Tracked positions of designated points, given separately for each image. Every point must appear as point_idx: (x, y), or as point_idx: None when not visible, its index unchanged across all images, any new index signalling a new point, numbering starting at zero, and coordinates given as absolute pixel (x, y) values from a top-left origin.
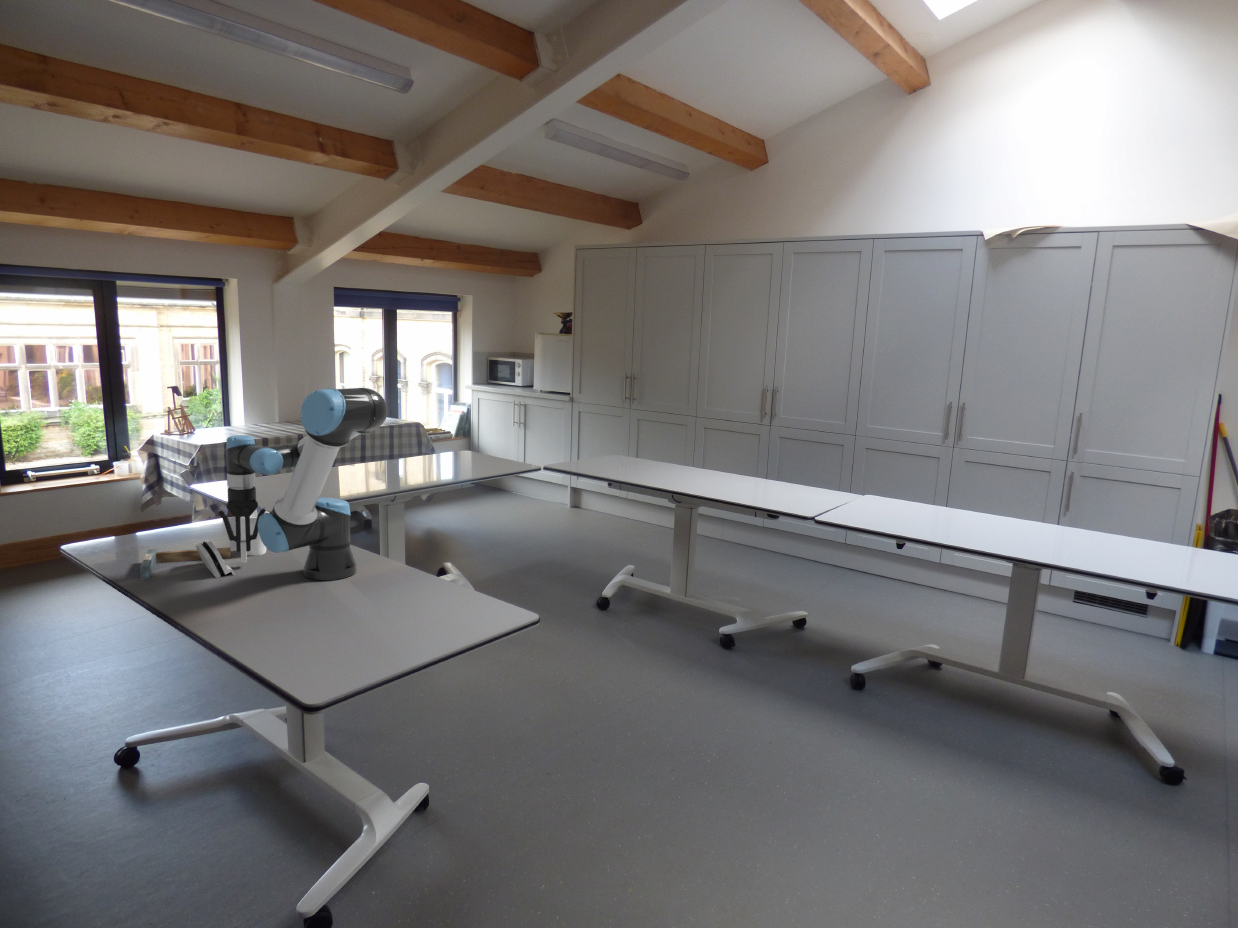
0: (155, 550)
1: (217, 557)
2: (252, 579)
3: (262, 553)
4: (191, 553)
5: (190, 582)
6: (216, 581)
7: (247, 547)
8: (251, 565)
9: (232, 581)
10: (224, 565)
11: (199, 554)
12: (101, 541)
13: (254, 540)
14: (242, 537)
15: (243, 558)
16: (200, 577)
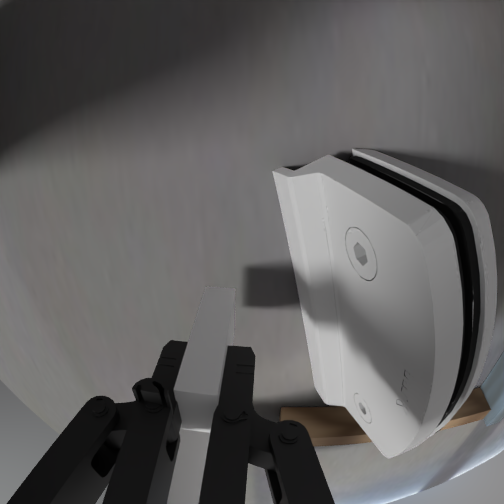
0: (494, 417)
1: (415, 202)
2: (173, 52)
3: None
4: None
5: (479, 131)
6: (375, 83)
7: (177, 362)
8: (192, 303)
9: (287, 46)
10: (345, 178)
11: None
12: (469, 469)
13: (181, 453)
14: None
15: (217, 303)
16: None
